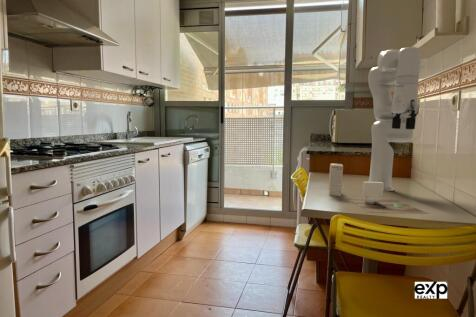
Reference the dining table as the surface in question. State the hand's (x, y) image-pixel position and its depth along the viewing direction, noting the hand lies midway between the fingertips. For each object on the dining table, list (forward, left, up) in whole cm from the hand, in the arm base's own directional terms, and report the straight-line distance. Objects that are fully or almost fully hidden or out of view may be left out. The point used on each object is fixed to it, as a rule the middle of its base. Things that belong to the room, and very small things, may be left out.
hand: (402, 128), depth 135 cm
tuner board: (+8, -9, -28) cm, 31 cm away
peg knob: (+9, -13, -27) cm, 31 cm away
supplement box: (-10, -20, -29) cm, 37 cm away
